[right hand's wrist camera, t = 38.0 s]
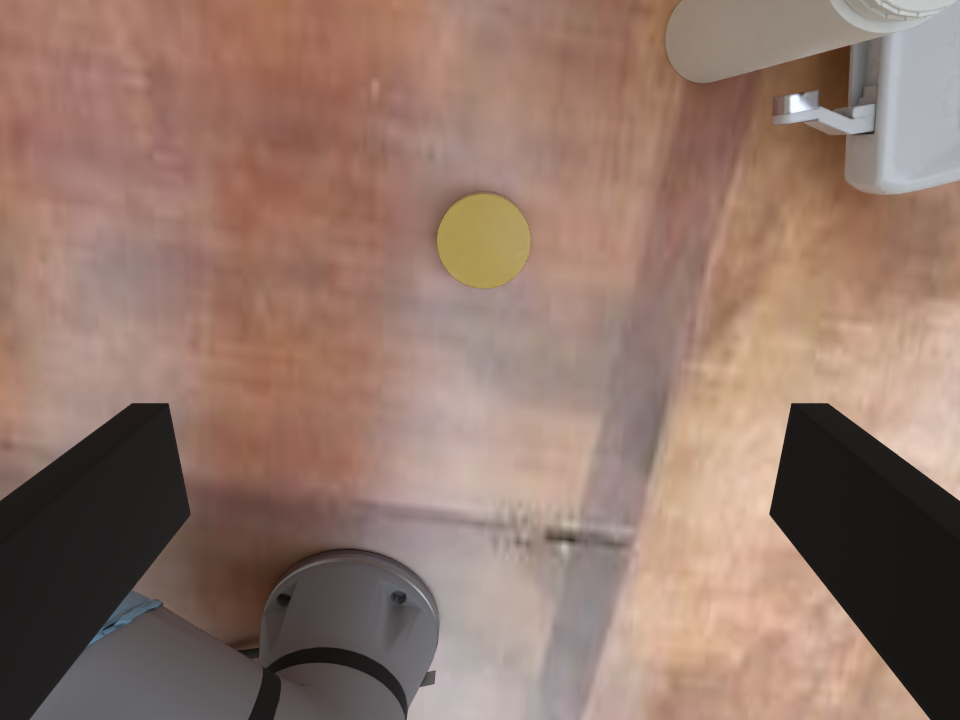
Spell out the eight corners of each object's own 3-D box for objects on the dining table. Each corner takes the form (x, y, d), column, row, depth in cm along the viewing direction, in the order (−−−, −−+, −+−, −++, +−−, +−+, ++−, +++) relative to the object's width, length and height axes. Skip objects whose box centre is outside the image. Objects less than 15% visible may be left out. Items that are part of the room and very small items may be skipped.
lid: (434, 276, 42) (432, 282, 40) (443, 185, 40) (442, 187, 38) (521, 287, 42) (522, 294, 40) (535, 198, 40) (538, 200, 38)
